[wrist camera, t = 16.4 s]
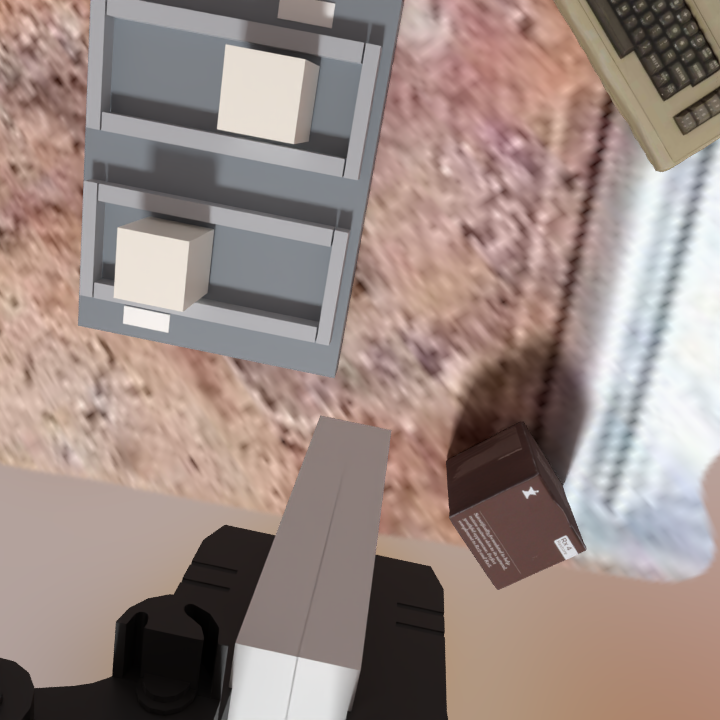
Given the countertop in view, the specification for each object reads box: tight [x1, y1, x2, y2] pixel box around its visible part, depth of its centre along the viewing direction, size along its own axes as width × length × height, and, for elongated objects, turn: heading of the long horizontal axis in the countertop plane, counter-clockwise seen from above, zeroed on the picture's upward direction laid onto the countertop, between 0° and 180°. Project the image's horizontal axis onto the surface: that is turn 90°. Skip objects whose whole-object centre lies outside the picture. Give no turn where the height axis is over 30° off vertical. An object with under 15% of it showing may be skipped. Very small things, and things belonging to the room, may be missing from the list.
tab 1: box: [114, 216, 214, 312], centre depth 40 cm, size 4×4×4 cm
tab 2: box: [217, 44, 320, 144], centre depth 36 cm, size 4×4×4 cm
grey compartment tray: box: [78, 0, 403, 378], centre depth 40 cm, size 22×17×3 cm
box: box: [446, 422, 586, 590], centre depth 43 cm, size 6×6×7 cm
